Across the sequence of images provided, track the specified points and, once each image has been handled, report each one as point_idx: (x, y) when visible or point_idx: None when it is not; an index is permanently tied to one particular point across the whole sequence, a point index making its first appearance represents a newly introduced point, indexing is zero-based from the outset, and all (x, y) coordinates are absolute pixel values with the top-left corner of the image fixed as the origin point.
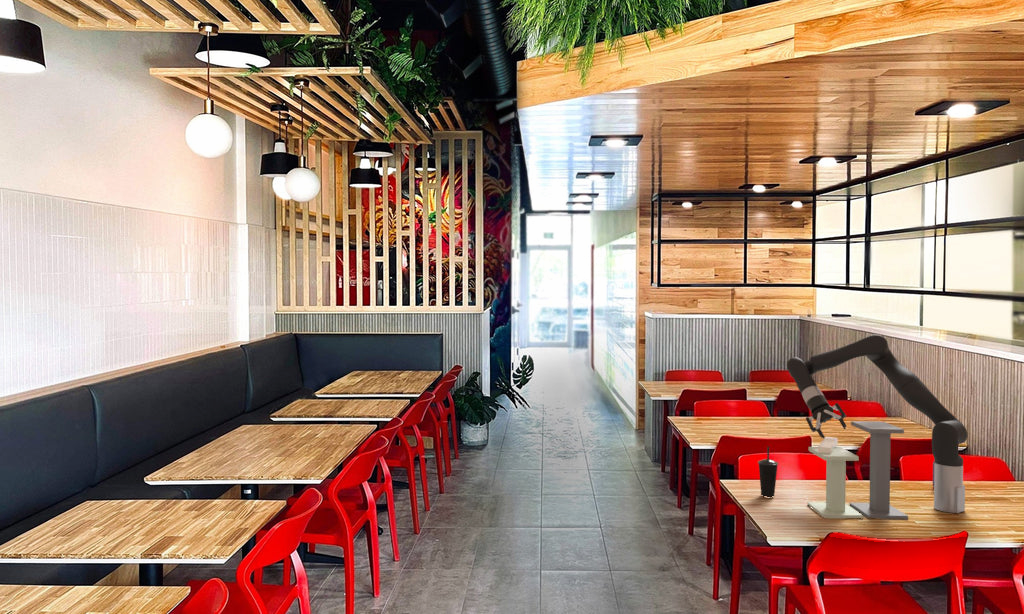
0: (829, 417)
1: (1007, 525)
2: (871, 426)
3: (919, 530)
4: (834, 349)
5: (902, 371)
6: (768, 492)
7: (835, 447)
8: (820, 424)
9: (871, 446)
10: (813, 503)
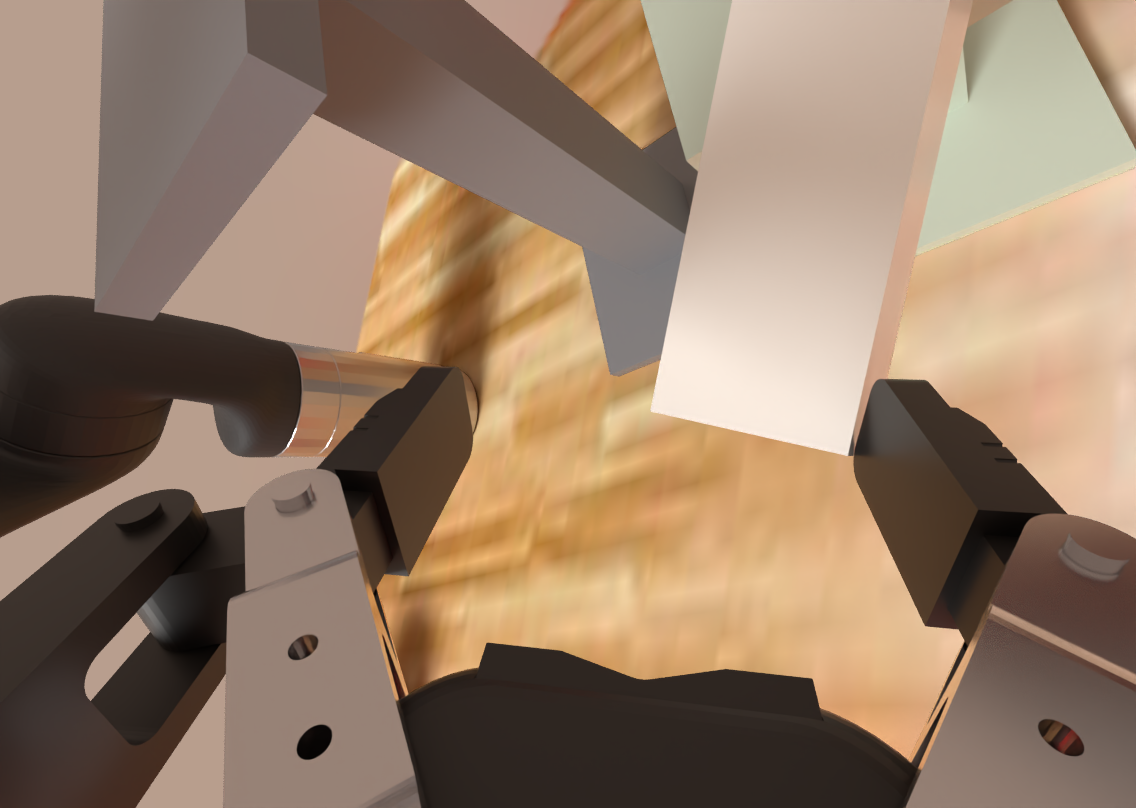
0: (502, 655)
1: (377, 296)
2: None
3: (574, 72)
4: None
5: None
6: None
7: None
8: (930, 720)
9: (421, 33)
10: (1075, 147)
